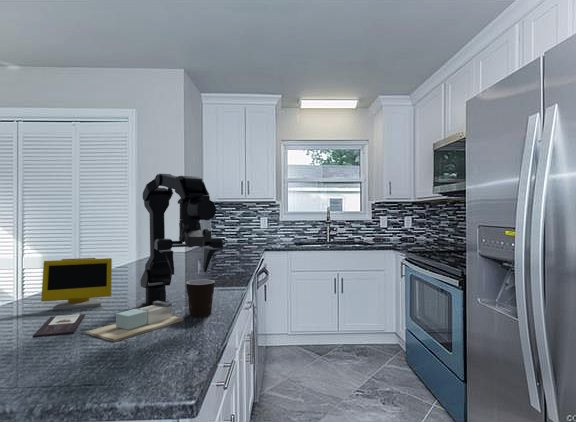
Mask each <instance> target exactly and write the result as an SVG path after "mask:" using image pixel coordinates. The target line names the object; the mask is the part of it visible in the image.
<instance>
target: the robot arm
mask: <svg viewBox="0 0 576 422" xmlns="http://www.w3.org/2000/svg"><path fill="white" fill-rule="evenodd" d="M173 190H174V191H173ZM174 193H176V194H177V195H178V196H179V199H178V200H177V204H179V223H178V226H179V236H178V240H172V239H171V238H166V237H165V236H166V235H165V234H166V233H165V232H166V231H165V229H166V228H165V213H166V212H167V209H168V207H169V206H170V200H171V199H172V197H173V195H174ZM210 197H211V196H210V193H209V192H208V189H207V187H206V184H205V182H204V181H203V178H202V177H200V176H192V175H191V176H189V175H178V176H176V175H173V174H170V173H157V174H156V175H155V177H154V178H153V179H152V180H151V181H149V182H148V183H146V185H145V187H144V189H143V191H142V200H143V203H144V208H145V210H146V211H147V212H148V214H149V253H150V254H149V257H148V259H147V262H146V263H145V265H144V271H143V273H142V276H141V278H140V287H141V288H144V289H145V302H142V303H141V305H142V306H146V307H147V306H151V305H153V302H155V301H162V302H167V303H170V302H169V301H168V300H167V291H166V286H171V283H172V276H174V275H175V264H174V262H175V261H174V251H173V250H172V248H193V247H194V248H195V247H199V248H203V247H204V248H203V267H202V268H203V273H207V270H208V267H209V265H210V262H211V260H212V258H213V255H214V254H215V253H216V252H218V251H220V249H223V248H224V240H223V238H221V237H212V230H211V228H204V229H202V225H201V221H210V220H212V219H213V218H215V216H216V213H217V207H216V205H215V203H214V202H213V201H212V200H211V199H210Z"/></svg>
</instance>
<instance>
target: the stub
mask: <svg viewBox="0 0 576 422" xmlns="http://www.w3.org/2000/svg"><path fill="white" fill-rule="evenodd" d="M115 323H116V327H119V328H123V329H127V330H129V329H132V328H136V327H139V326H142V325H146V324H147V311H144V310H139V308H133V309H129V310H125V311H124V310H123V311H121V312H117V313H115Z"/></svg>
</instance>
